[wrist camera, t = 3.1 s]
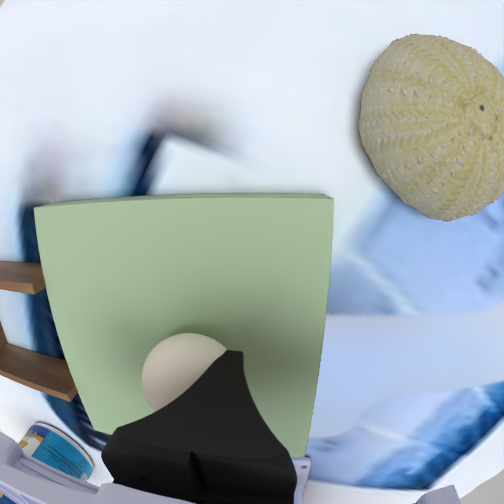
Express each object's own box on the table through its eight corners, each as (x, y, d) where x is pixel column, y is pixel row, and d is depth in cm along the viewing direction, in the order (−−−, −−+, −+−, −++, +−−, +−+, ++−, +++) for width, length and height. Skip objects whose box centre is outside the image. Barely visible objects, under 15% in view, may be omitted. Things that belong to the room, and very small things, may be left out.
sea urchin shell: (306, 135, 12) (435, -2, 5) (352, 83, 16) (432, 0, 9) (439, 270, 13) (574, 206, 6) (448, 182, 17) (535, 125, 10)
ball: (256, 430, 12) (167, 459, 10) (208, 387, 16) (133, 402, 13) (266, 348, 12) (161, 370, 9) (212, 315, 15) (127, 323, 13)
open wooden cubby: (103, 402, 19) (63, 464, 13) (16, 374, 20) (-26, 415, 13) (66, 264, 16) (-11, 309, 10) (-20, 259, 17) (-80, 288, 10)
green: (302, 431, 19) (304, 457, 16) (107, 410, 20) (94, 429, 17) (324, 194, 14) (333, 198, 12) (59, 202, 15) (33, 208, 13)
